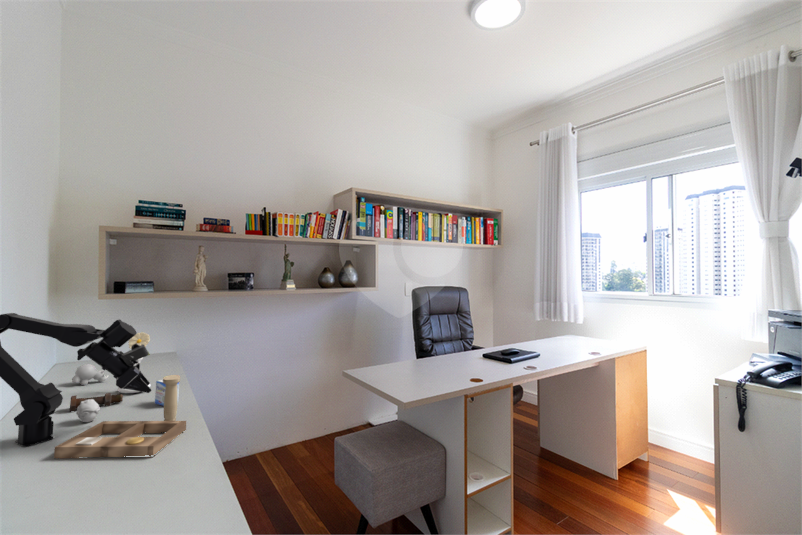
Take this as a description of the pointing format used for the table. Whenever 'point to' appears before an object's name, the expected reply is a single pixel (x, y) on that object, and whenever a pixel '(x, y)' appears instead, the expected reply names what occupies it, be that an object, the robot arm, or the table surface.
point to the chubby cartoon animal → (88, 374)
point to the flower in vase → (140, 340)
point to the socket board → (120, 439)
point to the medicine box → (162, 392)
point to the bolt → (96, 400)
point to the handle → (170, 397)
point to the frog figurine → (88, 410)
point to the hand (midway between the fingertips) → (149, 387)
